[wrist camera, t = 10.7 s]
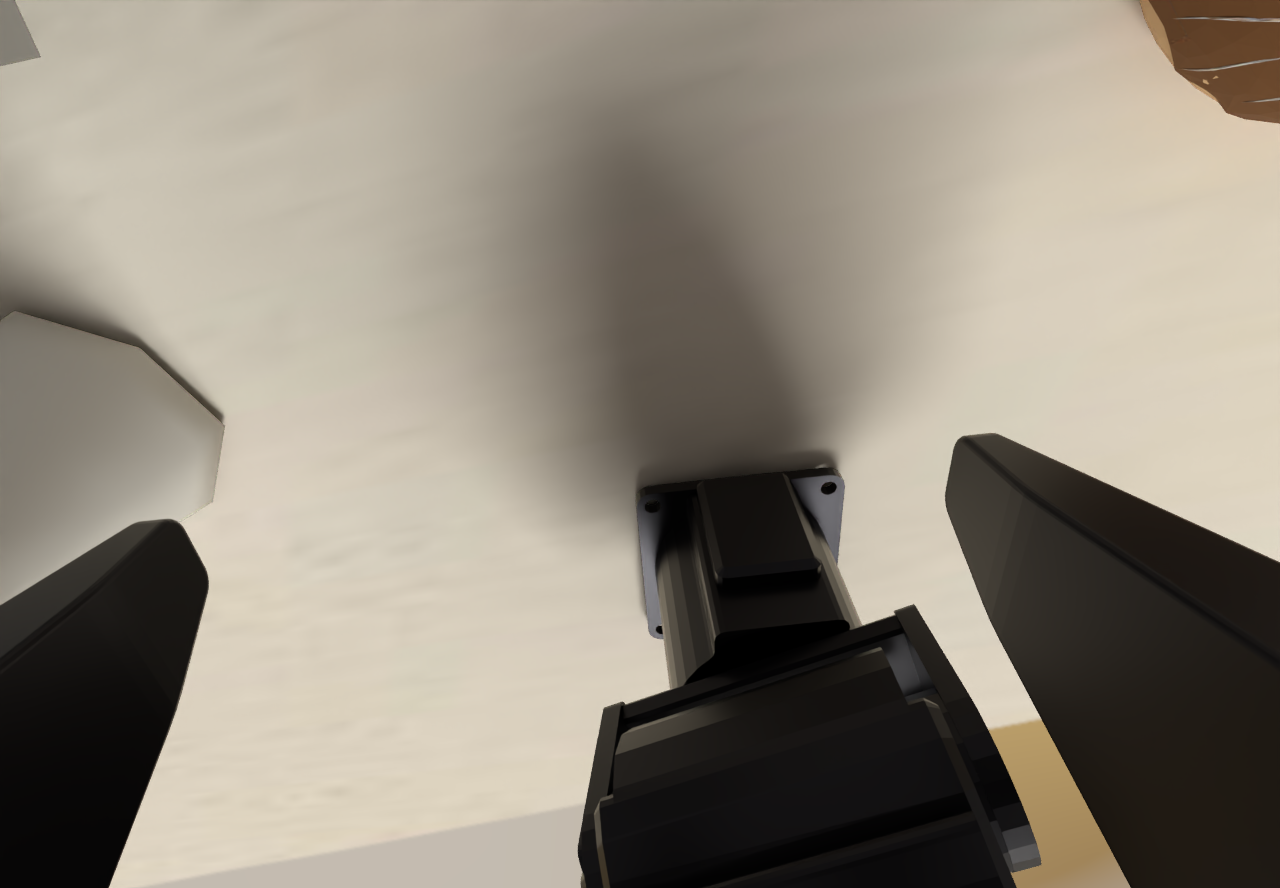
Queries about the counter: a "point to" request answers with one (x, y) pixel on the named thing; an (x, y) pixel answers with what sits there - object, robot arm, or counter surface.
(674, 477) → the counter surface
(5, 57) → the gauge plunger
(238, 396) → the counter surface
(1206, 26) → the donut
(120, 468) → the flask
